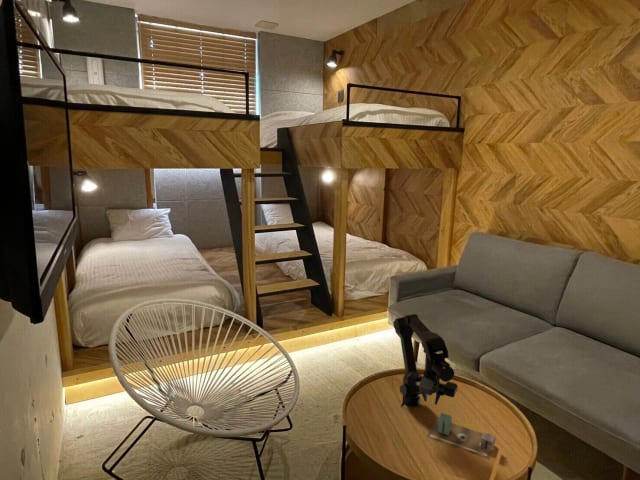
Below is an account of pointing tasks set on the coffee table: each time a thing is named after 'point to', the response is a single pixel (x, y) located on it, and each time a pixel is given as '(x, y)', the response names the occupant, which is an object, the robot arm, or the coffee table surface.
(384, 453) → the coffee table surface
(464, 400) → the coffee table surface
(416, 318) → the robot arm
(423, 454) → the coffee table surface
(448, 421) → the sage green box
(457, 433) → the board
